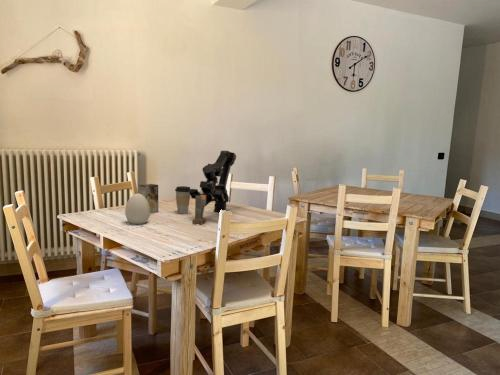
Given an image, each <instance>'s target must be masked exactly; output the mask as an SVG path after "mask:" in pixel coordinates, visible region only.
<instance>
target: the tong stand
mask: <svg viewBox="0 0 500 375" xmlns="http://www.w3.org/2000/svg"><path fill="white" fill-rule="evenodd" d="M194 200H195V203H194V206H195V209H194V215H195V216H194V218H192V225H196V224H199V225H198V226H203V225H204V224H206V223H207V221H208V220H207V218H208V217H203V218H201V205H202V196H196V199H194ZM205 222H206V223H205ZM203 223H204V224H203Z"/></svg>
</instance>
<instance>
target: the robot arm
mask: <svg viewBox="0 0 500 375" xmlns="http://www.w3.org/2000/svg"><path fill="white" fill-rule="evenodd" d="M236 159H237V155H236V153H235V152H231V151H229V150H223V149H222V150H220V153H219V156H218V157H217V159H216V161H215V162H214V163H207V165H204V166H203V167H202V172H203V175H204V177H205V179H206V181H203V180H200V183H199V188H200V190H201V191H199V190H198V189H197V188H190V191H189V193H190V198H191V199H194V200H195V199H196V196H200V195H207V198H206V202H205V207H206V206H208V204H210V203H211V202H214V209H213V210H214V211H213V212H216V211H220V210H221V209H222V210H227V203H230V202H229V201H230V200H229V199H230V197H229V195H228V190H227V183H228V179H229V175H230V170H231V167H232V166H233V165H234V164H235V161H236ZM218 177H219V179H218ZM218 180H219V181H218Z"/></svg>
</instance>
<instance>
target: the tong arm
mask: <svg viewBox="0 0 500 375" xmlns="http://www.w3.org/2000/svg"><path fill="white" fill-rule="evenodd" d="M200 196H202V205H201V218H203V216H204V212H205V207H206V206H205V202H206V198H207V195H200Z"/></svg>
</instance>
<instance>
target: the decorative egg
mask: <svg viewBox="0 0 500 375" xmlns="http://www.w3.org/2000/svg"><path fill="white" fill-rule="evenodd" d="M124 214H125V219H126V220H127V221H128V223H129V224H132V225H142V224H145V223H147V222H148V220H149V219H150V216H151V213H150V206H149V203H148V201H147V199H146V198H145V197H144V196H143V195H141V194H139V193H135V194H133V195H132V196H130V197H129V199H128V200H127V203H126V205H125V211H124Z"/></svg>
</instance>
